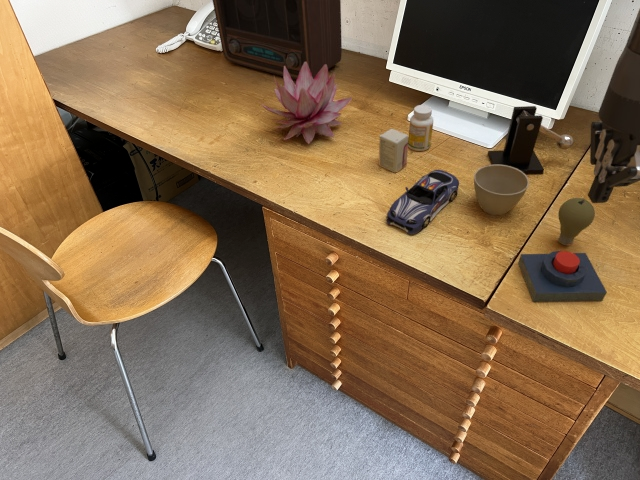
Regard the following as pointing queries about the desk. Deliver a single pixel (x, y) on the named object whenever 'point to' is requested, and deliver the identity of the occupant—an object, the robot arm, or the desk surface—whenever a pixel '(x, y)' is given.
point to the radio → (280, 34)
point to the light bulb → (574, 218)
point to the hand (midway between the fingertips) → (596, 199)
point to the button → (566, 262)
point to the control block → (560, 279)
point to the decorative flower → (309, 103)
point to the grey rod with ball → (553, 134)
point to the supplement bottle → (420, 128)
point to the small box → (393, 150)
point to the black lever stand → (520, 143)
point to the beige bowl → (499, 188)
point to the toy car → (431, 192)
